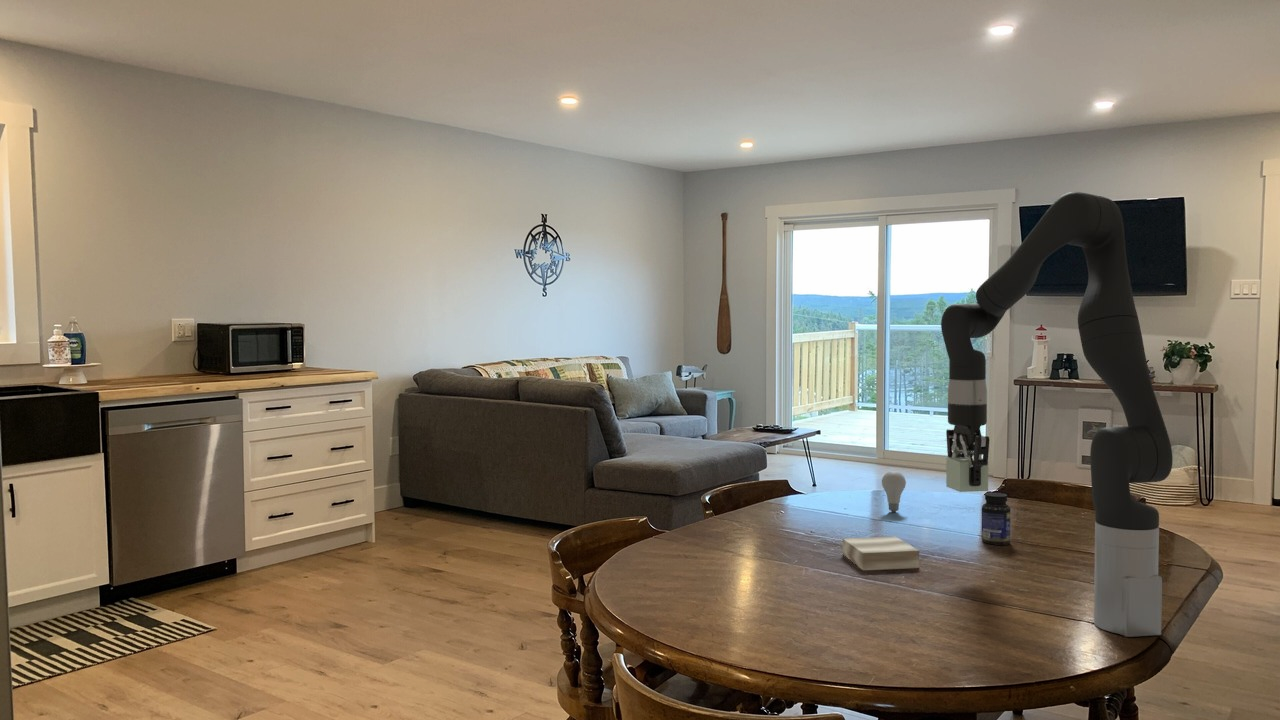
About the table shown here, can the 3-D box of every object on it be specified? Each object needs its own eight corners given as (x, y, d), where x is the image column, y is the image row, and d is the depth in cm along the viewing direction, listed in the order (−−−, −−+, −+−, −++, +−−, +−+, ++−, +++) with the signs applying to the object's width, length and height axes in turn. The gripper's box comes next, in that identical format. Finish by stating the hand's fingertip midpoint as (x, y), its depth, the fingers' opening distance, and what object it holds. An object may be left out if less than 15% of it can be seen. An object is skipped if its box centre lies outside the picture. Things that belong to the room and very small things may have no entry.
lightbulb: (881, 514, 235) (881, 472, 234) (882, 509, 241) (882, 468, 240) (905, 515, 233) (905, 473, 233) (905, 510, 239) (905, 469, 238)
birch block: (919, 569, 184) (919, 550, 184) (862, 572, 183) (863, 553, 183) (895, 554, 196) (895, 536, 196) (842, 556, 195) (842, 538, 195)
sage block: (988, 490, 181) (988, 461, 181) (960, 491, 181) (960, 462, 180) (973, 485, 187) (973, 457, 187) (946, 486, 186) (946, 457, 186)
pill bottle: (1012, 546, 201) (1013, 497, 200) (983, 545, 202) (984, 496, 201) (1007, 539, 207) (1007, 492, 206) (979, 538, 208) (979, 491, 207)
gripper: (1002, 404, 176) (1002, 488, 177) (967, 398, 191) (967, 476, 191) (966, 405, 176) (966, 490, 176) (934, 398, 190) (933, 477, 191)
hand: (966, 482), depth 184 cm, fingers closed on sage block, 6 cm apart
